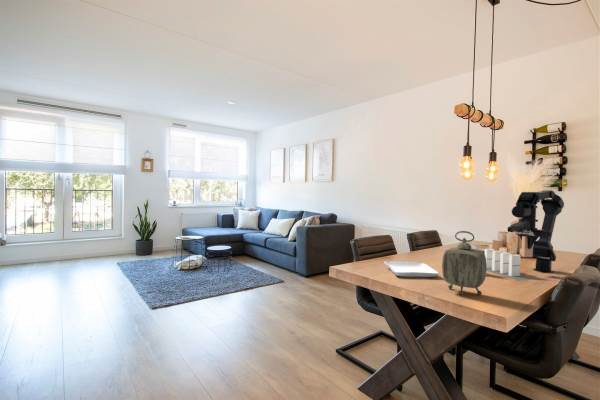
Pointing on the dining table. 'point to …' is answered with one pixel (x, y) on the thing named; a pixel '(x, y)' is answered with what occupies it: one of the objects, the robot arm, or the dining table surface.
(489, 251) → the domino
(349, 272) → the dining table surface
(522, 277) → the mat
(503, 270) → the domino
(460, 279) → the tabletop clock
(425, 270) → the salad plate
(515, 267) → the domino
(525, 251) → the domino
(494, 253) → the domino
